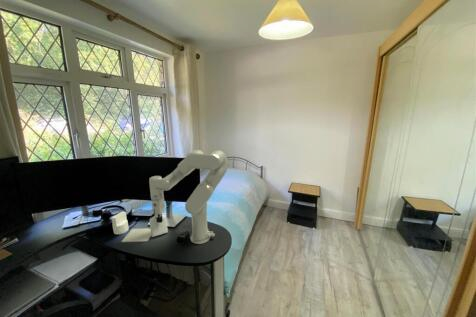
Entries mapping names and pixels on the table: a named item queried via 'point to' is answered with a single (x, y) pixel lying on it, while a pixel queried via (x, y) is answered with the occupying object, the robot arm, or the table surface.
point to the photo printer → (158, 226)
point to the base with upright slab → (120, 223)
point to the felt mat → (138, 235)
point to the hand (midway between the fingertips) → (159, 221)
